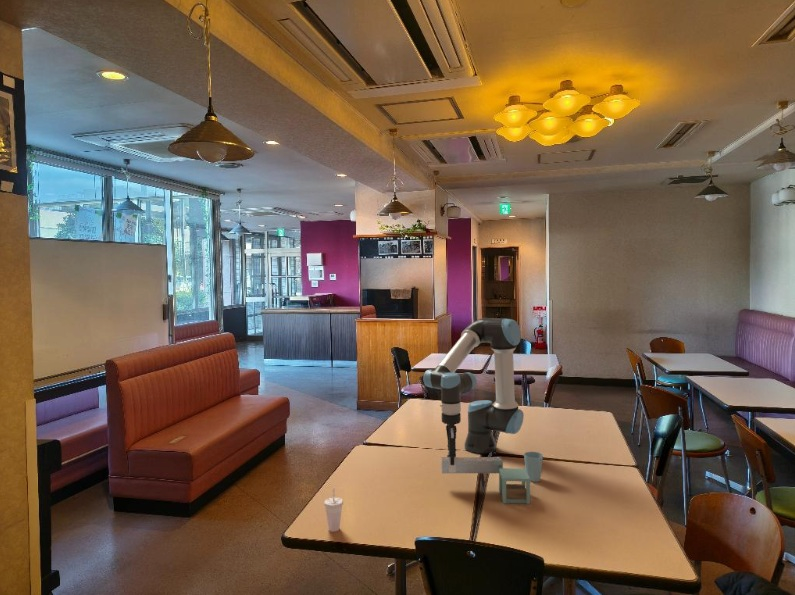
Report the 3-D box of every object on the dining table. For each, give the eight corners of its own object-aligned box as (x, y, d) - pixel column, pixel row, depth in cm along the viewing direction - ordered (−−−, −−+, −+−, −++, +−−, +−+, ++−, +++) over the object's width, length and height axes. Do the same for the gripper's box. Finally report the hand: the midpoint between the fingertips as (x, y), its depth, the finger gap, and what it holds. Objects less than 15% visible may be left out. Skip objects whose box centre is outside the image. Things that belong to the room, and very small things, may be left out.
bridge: (499, 492, 205) (499, 468, 204) (524, 492, 204) (524, 468, 204) (502, 503, 195) (502, 478, 194) (530, 503, 194) (530, 478, 194)
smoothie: (344, 524, 180) (343, 484, 180) (342, 533, 174) (342, 492, 173) (325, 524, 180) (324, 484, 179) (323, 534, 174) (322, 492, 173)
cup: (538, 484, 212) (538, 459, 211) (520, 480, 217) (520, 455, 216) (545, 478, 218) (546, 454, 217) (528, 474, 222) (528, 450, 222)
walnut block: (502, 495, 202) (502, 484, 202) (523, 495, 202) (523, 484, 202) (504, 501, 197) (504, 489, 197) (526, 501, 197) (526, 489, 197)
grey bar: (441, 469, 211) (441, 457, 211) (500, 469, 210) (500, 457, 210) (442, 473, 207) (441, 461, 207) (502, 473, 206) (502, 460, 206)
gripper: (440, 406, 216) (441, 461, 217) (442, 419, 199) (443, 478, 200) (458, 406, 215) (459, 461, 217) (462, 418, 198) (463, 478, 200)
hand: (451, 469), depth 209 cm, fingers closed on grey bar, 4 cm apart
